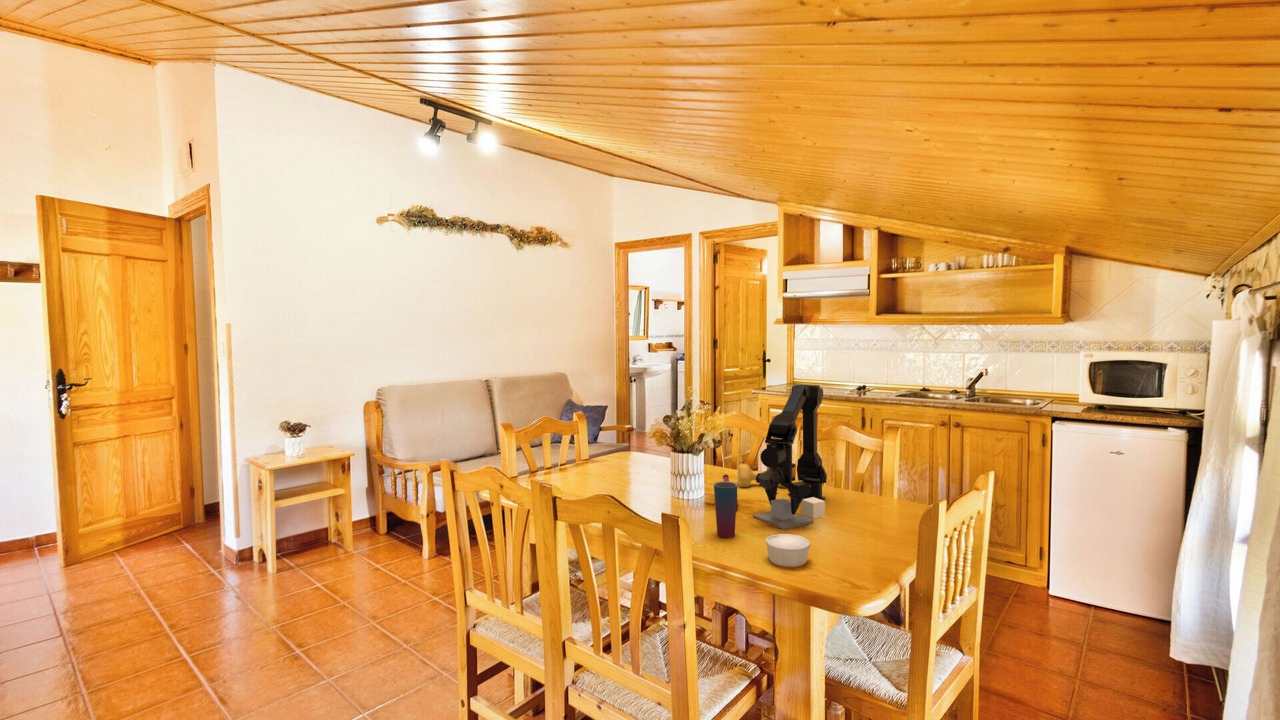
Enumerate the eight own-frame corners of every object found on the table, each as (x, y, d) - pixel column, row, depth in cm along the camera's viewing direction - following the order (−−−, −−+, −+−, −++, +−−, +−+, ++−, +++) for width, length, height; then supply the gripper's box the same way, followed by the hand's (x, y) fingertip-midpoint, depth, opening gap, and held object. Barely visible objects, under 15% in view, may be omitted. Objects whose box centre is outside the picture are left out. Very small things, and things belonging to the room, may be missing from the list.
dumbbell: (738, 489, 224) (738, 467, 224) (737, 482, 233) (737, 461, 233) (790, 490, 222) (790, 467, 222) (787, 483, 231) (787, 462, 231)
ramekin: (778, 549, 166) (778, 530, 166) (817, 559, 159) (817, 539, 158) (757, 562, 157) (757, 542, 157) (798, 573, 150) (798, 552, 150)
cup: (739, 532, 179) (739, 482, 178) (735, 540, 173) (735, 488, 172) (716, 530, 181) (716, 480, 180) (711, 538, 175) (711, 486, 174)
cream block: (813, 512, 197) (813, 497, 196) (824, 516, 192) (824, 500, 192) (801, 515, 194) (801, 499, 194) (813, 519, 190) (813, 503, 189)
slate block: (782, 513, 193) (782, 497, 192) (794, 517, 188) (794, 501, 188) (771, 516, 190) (770, 500, 190) (782, 520, 186) (782, 504, 186)
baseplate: (781, 510, 198) (781, 507, 198) (813, 522, 186) (813, 519, 186) (752, 517, 192) (752, 514, 192) (784, 530, 180) (784, 527, 180)
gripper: (742, 458, 192) (742, 507, 193) (784, 470, 176) (784, 523, 177) (769, 453, 198) (769, 501, 199) (812, 465, 182) (812, 516, 183)
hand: (782, 510), depth 189 cm, fingers open, 9 cm apart
